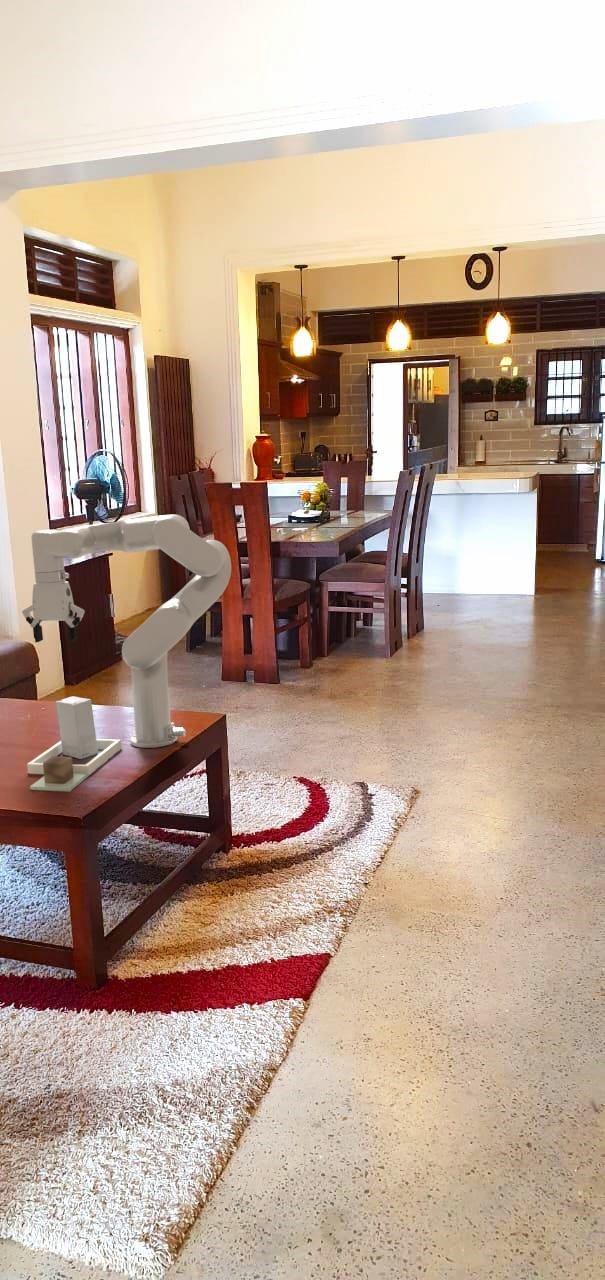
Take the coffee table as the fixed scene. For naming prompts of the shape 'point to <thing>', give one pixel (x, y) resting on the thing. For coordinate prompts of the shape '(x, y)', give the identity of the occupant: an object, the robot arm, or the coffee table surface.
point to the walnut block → (58, 770)
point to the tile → (59, 787)
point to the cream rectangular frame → (107, 744)
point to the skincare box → (77, 727)
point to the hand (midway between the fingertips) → (55, 641)
